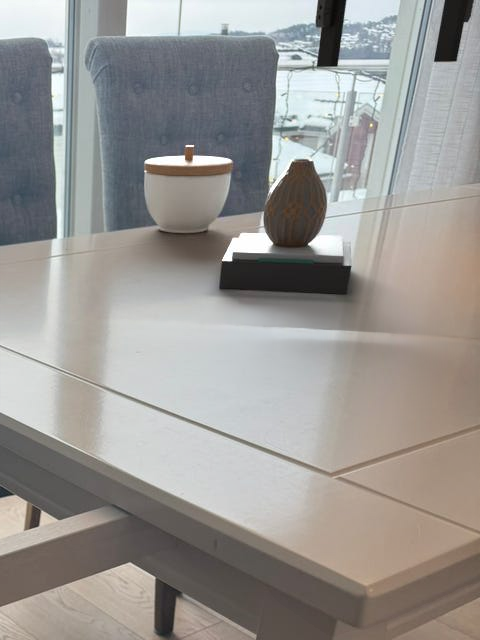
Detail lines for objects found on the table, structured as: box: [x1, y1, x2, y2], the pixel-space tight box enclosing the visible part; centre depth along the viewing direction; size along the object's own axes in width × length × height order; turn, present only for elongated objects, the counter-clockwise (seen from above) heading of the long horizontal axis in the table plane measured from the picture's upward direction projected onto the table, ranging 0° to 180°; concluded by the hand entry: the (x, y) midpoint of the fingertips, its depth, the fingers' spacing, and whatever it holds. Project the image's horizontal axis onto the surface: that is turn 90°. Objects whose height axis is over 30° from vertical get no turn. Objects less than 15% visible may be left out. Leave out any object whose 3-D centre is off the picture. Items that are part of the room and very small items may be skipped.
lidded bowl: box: [143, 144, 234, 234], centre depth 136 cm, size 13×13×11 cm
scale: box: [218, 232, 352, 295], centre depth 110 cm, size 14×14×4 cm
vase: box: [262, 158, 328, 247], centre depth 106 cm, size 7×7×9 cm
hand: (386, 64), depth 95 cm, fingers open, 13 cm apart
